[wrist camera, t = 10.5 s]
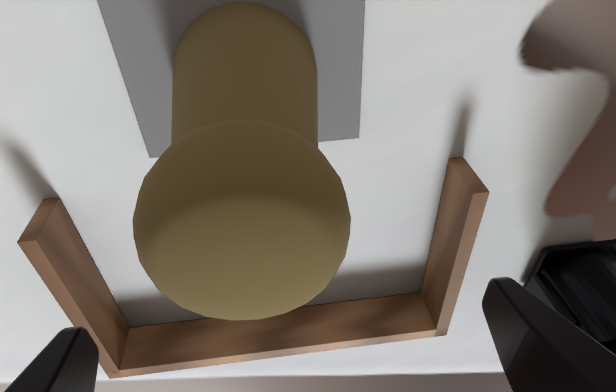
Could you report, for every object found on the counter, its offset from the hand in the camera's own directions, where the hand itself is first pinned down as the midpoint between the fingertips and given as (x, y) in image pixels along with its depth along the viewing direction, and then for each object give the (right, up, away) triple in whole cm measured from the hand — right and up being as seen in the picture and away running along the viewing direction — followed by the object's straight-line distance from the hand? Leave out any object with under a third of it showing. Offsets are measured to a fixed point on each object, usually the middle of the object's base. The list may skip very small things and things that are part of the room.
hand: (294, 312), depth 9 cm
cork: (-2, +8, +8) cm, 12 cm away
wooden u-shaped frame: (-2, -1, +16) cm, 16 cm away
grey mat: (-2, +8, +9) cm, 12 cm away
